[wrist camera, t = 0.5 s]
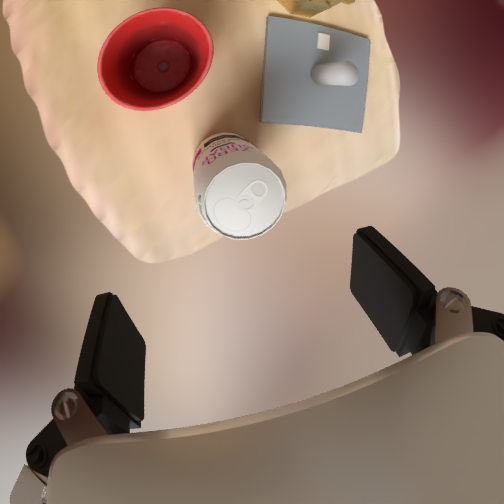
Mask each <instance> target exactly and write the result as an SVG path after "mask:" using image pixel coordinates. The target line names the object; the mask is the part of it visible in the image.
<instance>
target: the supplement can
mask: <svg viewBox="0 0 504 504" xmlns="http://www.w3.org/2000/svg"><path fill="white" fill-rule="evenodd" d="M193 176H194V191H195V200H196V206H197V212H198V214H199V215H200V217H201V218H202V220H203V222H204V223H205V225H207V226H208V227H209V228H211V229H212V230H213V231H215V232H216V233H218V234H221V235H222V236H225V237H228V238H231V239H234V240H249V239H251V238H255V237H258V236H261V235H263V234H264V233H266V232H267V231H268V230H270V229H271V228H273V226H274V225H275V224H276V223H277V221H278V220H279V219H280V217H281V215H282V212H283V210H284V207H285V201H286V198H287V196H286V182H285V179H284V177H283V175H282V172H281V170H280V169H279V168H278V167H277V166H276V165H275V164H274V163H273V162H272V161H271V160H270V159H269V158H268V157H267V156H266V155H264V154H263V153H262V152H261V151H260V150H258V149H257V148H256V147H255V146H254V145H252V144H251V143H250V142H249V141H247V140H246V139H245V138H244V137H242V136H239V135H237V134H235V133H229V132H220V133H217V134H214V135H211V136H209V137H208V138H206V139H205V140H204V141H202V142H201V144H200V145H199V147H198V148H197V150H196V151H195V154H194V159H193Z"/></svg>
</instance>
